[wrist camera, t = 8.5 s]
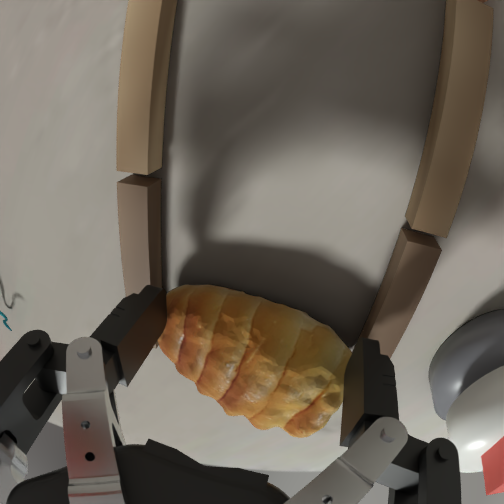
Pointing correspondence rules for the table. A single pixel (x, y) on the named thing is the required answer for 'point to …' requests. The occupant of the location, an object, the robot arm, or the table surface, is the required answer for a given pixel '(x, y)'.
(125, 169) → the track
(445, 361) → the button base
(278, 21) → the table surface
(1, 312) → the dragon figurine
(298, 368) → the pastry
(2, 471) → the robot arm
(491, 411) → the dome button
